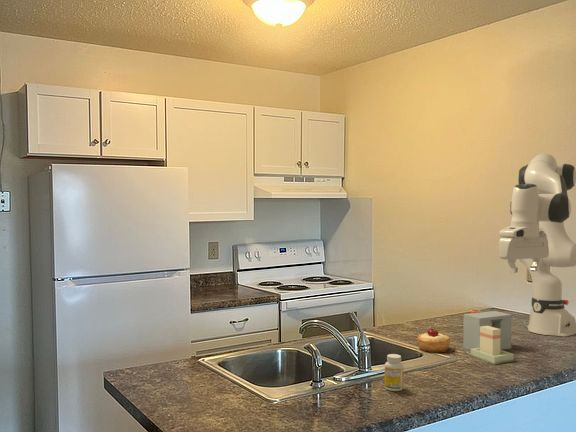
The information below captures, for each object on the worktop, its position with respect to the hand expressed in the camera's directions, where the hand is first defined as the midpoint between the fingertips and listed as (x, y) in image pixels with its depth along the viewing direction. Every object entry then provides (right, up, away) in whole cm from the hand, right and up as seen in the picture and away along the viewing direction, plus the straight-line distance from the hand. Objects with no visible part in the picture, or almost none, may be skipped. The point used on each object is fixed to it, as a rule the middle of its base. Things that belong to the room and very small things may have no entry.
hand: (524, 271), depth 184 cm
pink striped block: (-9, -30, +6) cm, 32 cm away
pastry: (-26, -31, +17) cm, 44 cm away
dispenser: (-6, -31, +19) cm, 37 cm away
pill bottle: (-5, -31, +34) cm, 46 cm away
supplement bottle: (-50, -32, -26) cm, 64 cm away
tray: (-9, -31, +5) cm, 33 cm away
